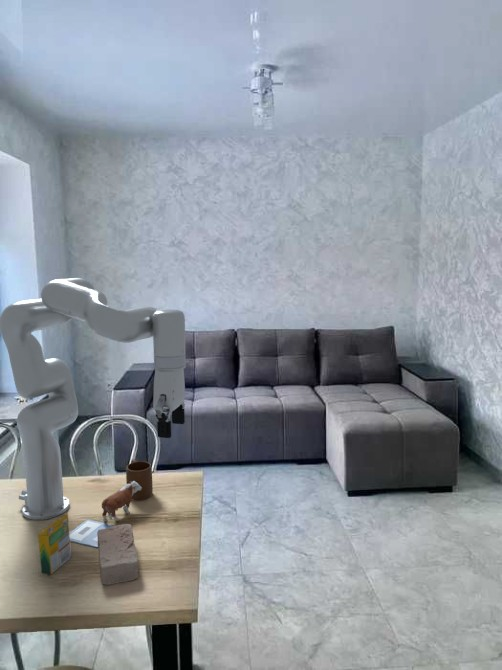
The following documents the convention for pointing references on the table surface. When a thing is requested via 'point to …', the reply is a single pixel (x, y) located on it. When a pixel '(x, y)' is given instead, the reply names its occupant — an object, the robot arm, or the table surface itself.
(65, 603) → the table surface
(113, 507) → the bull figurine
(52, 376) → the robot arm
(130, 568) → the brick
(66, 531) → the crayon box
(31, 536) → the table surface
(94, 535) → the plan sheet
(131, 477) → the mug
